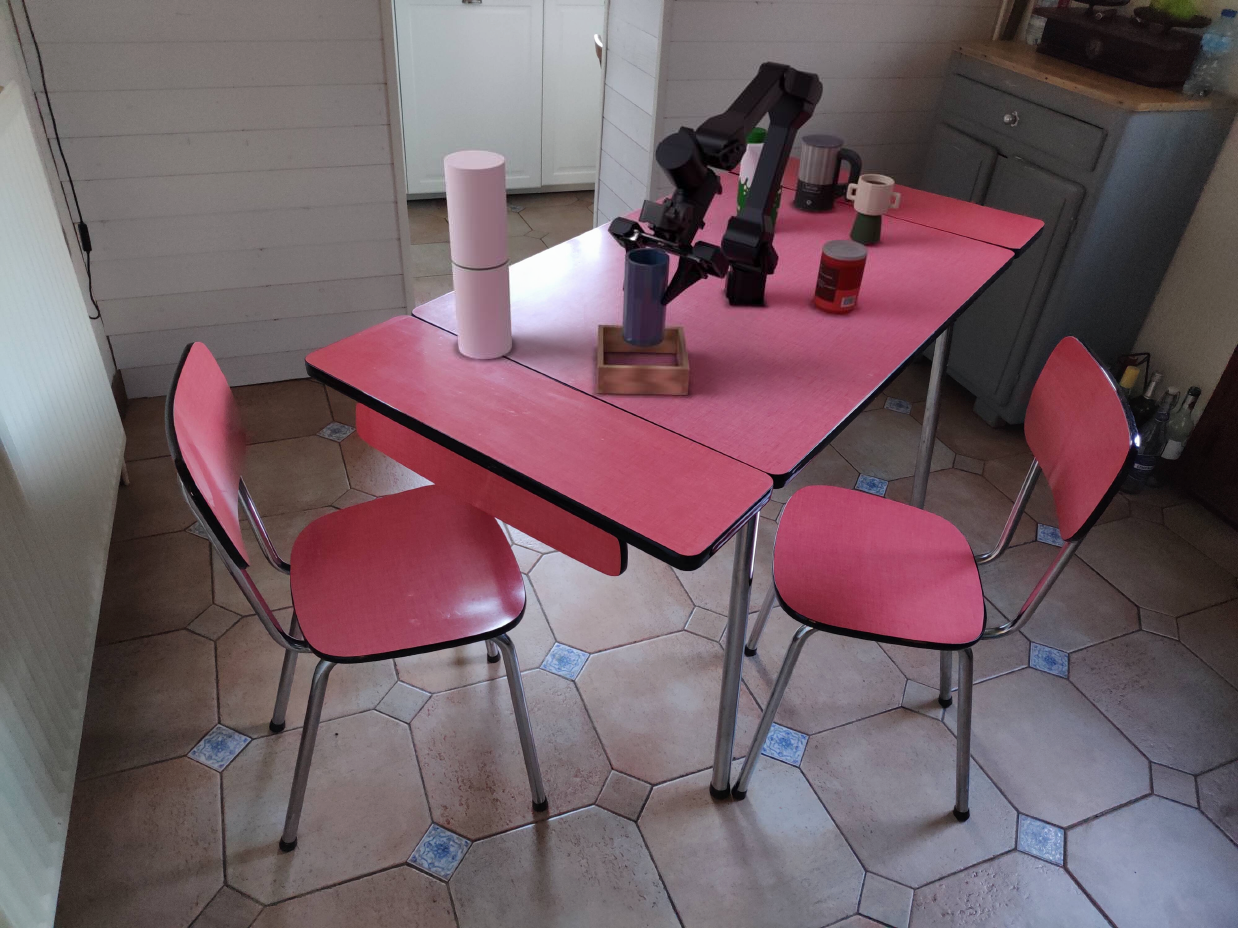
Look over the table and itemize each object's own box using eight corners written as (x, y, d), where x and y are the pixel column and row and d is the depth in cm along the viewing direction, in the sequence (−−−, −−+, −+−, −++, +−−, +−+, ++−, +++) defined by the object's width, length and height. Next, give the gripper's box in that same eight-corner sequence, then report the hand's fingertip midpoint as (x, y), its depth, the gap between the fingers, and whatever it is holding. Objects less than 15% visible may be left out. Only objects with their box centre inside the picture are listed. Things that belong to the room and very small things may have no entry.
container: (460, 333, 147) (446, 150, 129) (512, 333, 148) (505, 150, 130) (456, 359, 140) (441, 169, 123) (511, 359, 141) (504, 169, 123)
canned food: (860, 301, 162) (872, 244, 156) (850, 319, 156) (862, 260, 150) (819, 292, 165) (829, 236, 158) (807, 309, 159) (818, 251, 152)
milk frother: (791, 211, 199) (801, 143, 190) (792, 188, 212) (802, 123, 203) (855, 217, 197) (869, 149, 189) (852, 193, 210) (865, 129, 201)
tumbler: (662, 327, 138) (668, 248, 131) (665, 347, 133) (670, 266, 126) (621, 326, 138) (624, 247, 130) (622, 346, 133) (625, 265, 125)
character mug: (894, 241, 187) (908, 180, 179) (884, 252, 182) (899, 189, 174) (844, 230, 191) (855, 169, 183) (833, 241, 186) (845, 179, 178)
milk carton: (732, 217, 195) (743, 123, 183) (773, 219, 195) (786, 125, 183) (735, 232, 187) (747, 135, 176) (778, 234, 188) (792, 137, 176)
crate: (680, 351, 145) (682, 326, 142) (687, 395, 134) (689, 369, 131) (597, 349, 145) (598, 324, 142) (597, 393, 134) (598, 367, 131)
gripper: (616, 162, 129) (570, 257, 129) (728, 191, 121) (678, 293, 120) (644, 201, 139) (601, 289, 139) (749, 230, 131) (703, 324, 130)
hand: (643, 298), depth 132 cm, fingers closed on tumbler, 6 cm apart
